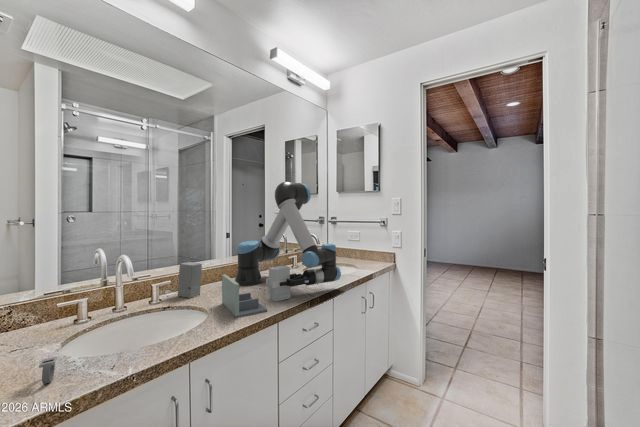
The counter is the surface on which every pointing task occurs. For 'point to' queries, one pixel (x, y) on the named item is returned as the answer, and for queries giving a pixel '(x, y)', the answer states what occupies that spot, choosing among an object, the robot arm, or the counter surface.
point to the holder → (238, 299)
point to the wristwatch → (48, 369)
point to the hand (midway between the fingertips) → (269, 283)
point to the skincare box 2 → (277, 275)
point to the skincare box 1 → (189, 279)
